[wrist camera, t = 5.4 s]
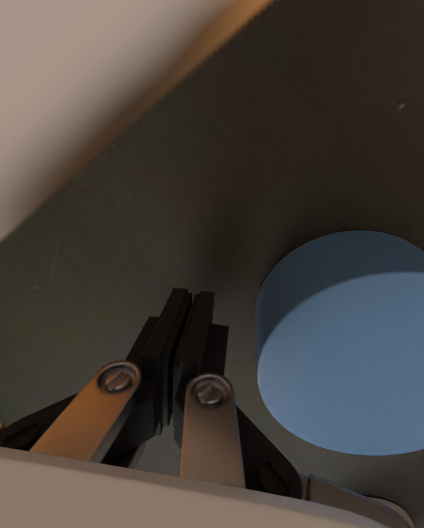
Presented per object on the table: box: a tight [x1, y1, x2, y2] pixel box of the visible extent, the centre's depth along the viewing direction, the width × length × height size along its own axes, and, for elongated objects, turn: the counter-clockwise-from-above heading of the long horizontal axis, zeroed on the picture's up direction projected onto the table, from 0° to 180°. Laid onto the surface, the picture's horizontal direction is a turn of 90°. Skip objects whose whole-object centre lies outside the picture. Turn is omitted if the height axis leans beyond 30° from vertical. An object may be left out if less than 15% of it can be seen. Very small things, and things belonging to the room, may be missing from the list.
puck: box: [255, 230, 424, 455], centre depth 11 cm, size 8×8×4 cm
